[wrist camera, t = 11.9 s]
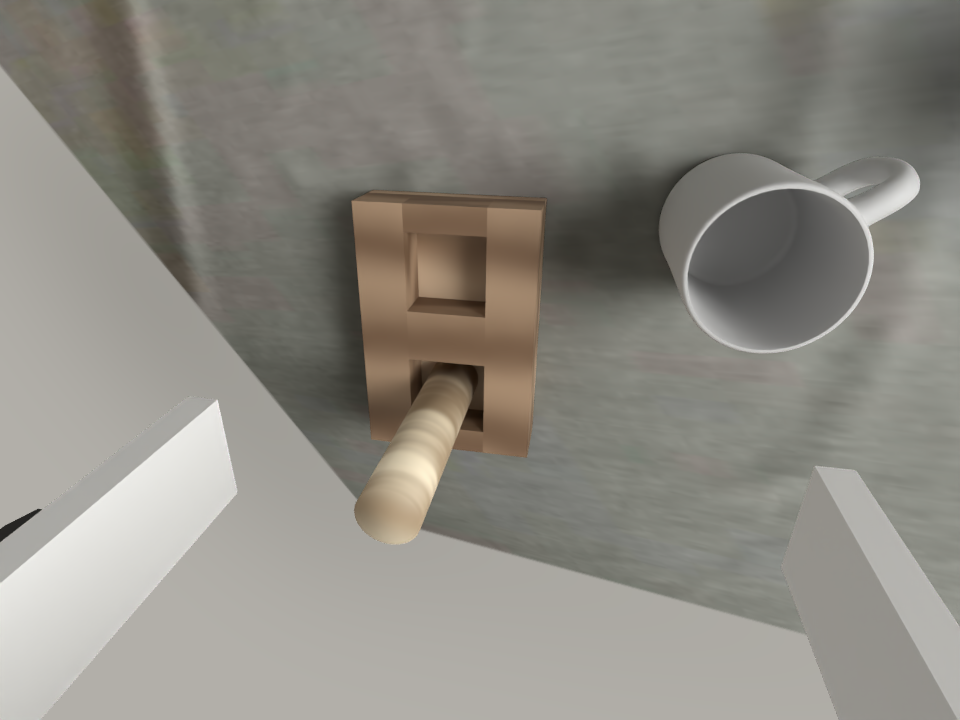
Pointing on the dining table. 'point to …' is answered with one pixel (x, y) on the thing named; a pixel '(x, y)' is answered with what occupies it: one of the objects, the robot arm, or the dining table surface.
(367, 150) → the dining table surface
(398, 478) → the pin
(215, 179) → the dining table surface
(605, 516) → the dining table surface
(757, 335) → the mug
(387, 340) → the bore block
